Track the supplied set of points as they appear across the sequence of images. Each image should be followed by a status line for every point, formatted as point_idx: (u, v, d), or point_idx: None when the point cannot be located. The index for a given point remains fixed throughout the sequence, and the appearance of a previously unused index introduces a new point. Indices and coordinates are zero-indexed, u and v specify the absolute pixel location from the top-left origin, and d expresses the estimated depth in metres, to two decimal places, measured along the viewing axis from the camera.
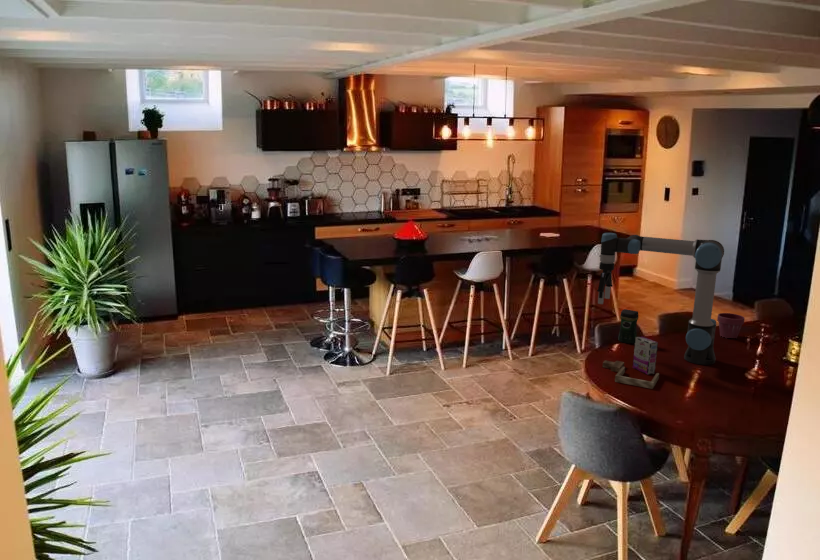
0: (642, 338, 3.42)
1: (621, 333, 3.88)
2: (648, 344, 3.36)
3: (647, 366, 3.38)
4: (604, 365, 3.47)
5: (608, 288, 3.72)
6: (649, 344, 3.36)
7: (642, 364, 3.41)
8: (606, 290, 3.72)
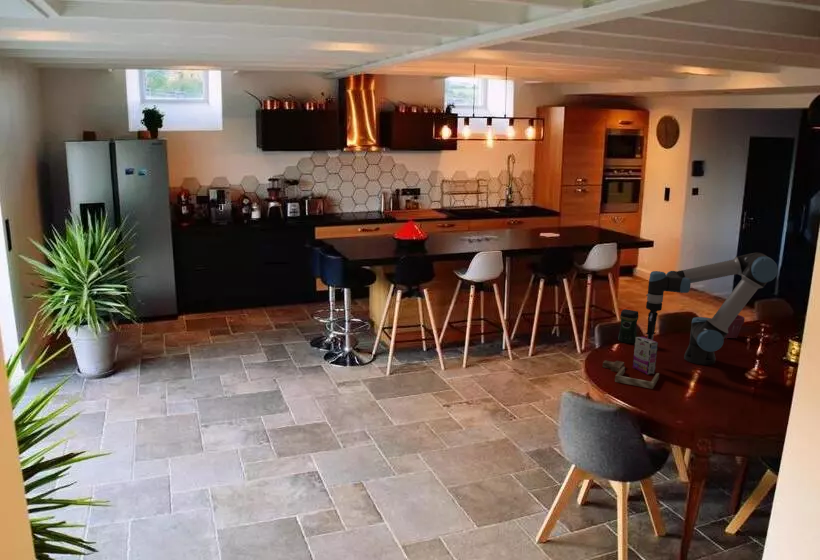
0: (642, 338, 3.42)
1: (621, 333, 3.88)
2: (648, 344, 3.36)
3: (647, 366, 3.38)
4: (604, 365, 3.47)
5: None
6: (649, 344, 3.36)
7: (642, 364, 3.41)
8: None
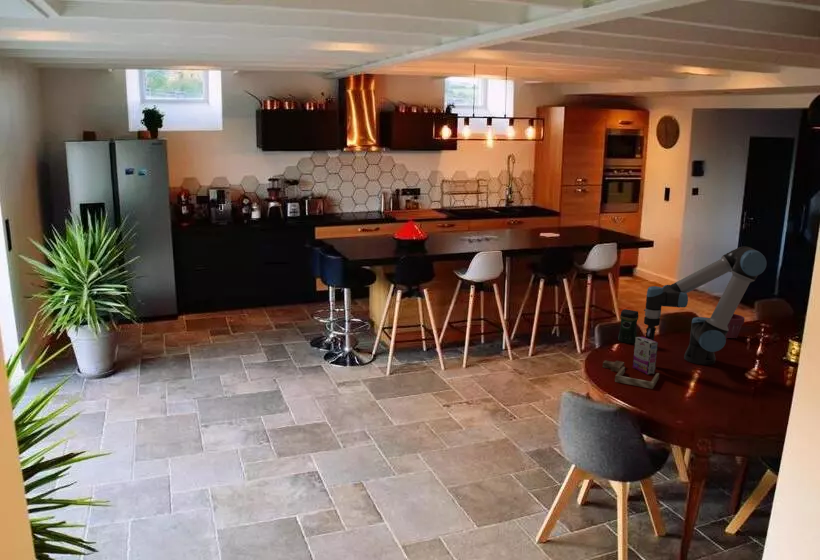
0: (642, 338, 3.42)
1: (621, 333, 3.88)
2: (648, 344, 3.36)
3: (647, 366, 3.38)
4: (604, 365, 3.47)
5: None
6: (649, 344, 3.36)
7: (642, 364, 3.41)
8: None
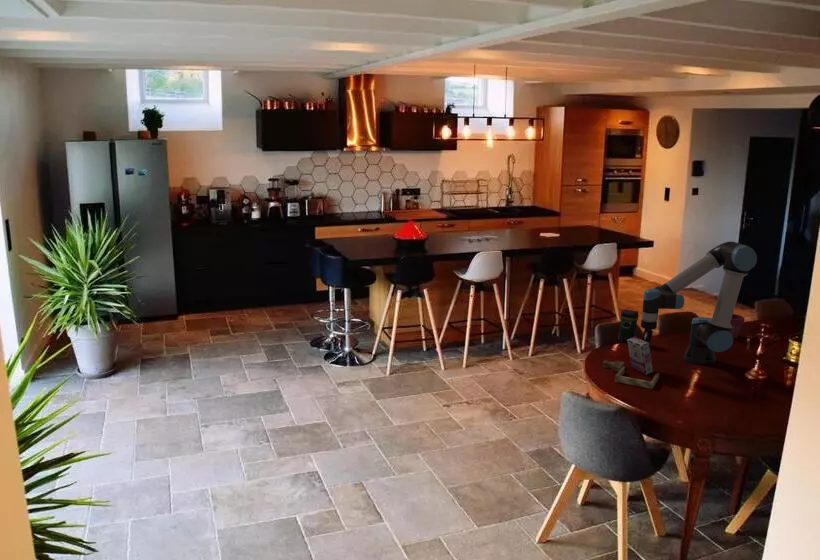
0: (633, 340, 3.40)
1: (621, 333, 3.88)
2: (639, 347, 3.34)
3: (644, 367, 3.36)
4: (604, 365, 3.47)
5: None
6: (640, 347, 3.33)
7: (639, 366, 3.40)
8: None
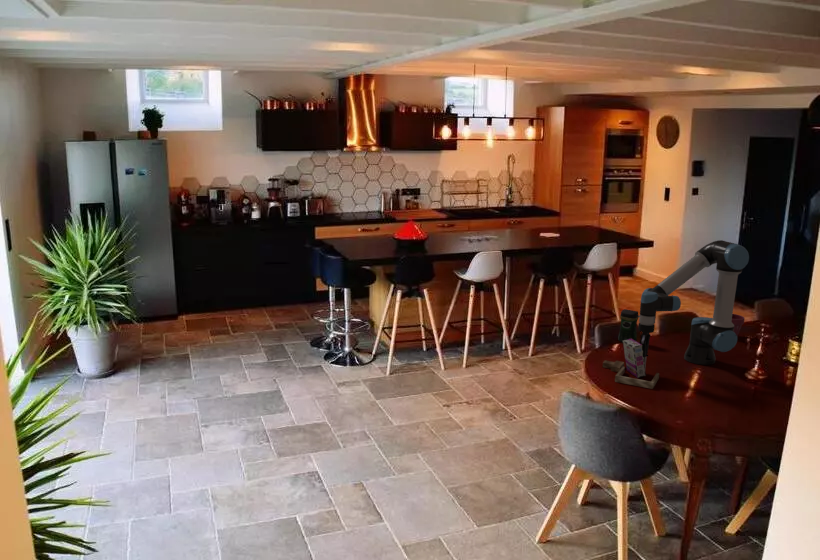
0: (629, 341, 3.37)
1: (621, 333, 3.88)
2: (632, 348, 3.31)
3: (636, 369, 3.33)
4: (604, 365, 3.47)
5: (644, 358, 3.39)
6: (632, 348, 3.30)
7: (632, 368, 3.36)
8: None
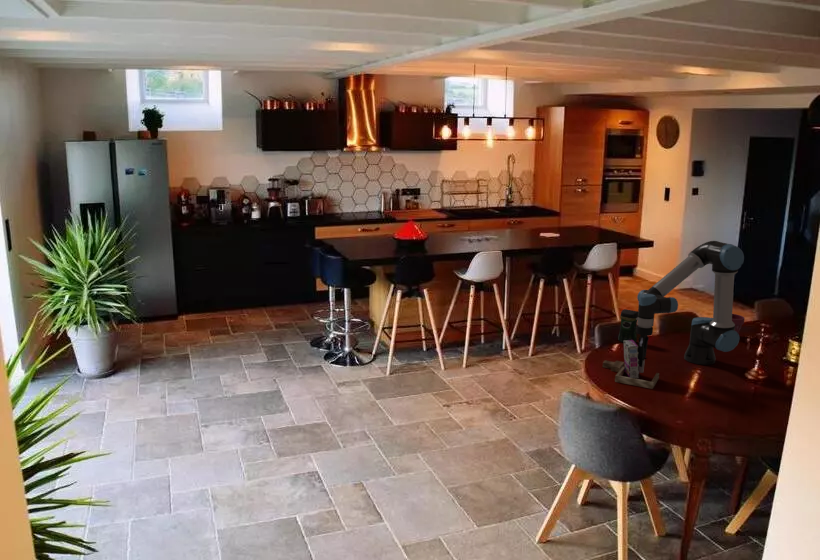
0: (628, 341, 3.36)
1: (621, 333, 3.88)
2: (627, 348, 3.30)
3: (629, 370, 3.31)
4: (604, 365, 3.47)
5: None
6: (628, 348, 3.29)
7: (627, 368, 3.35)
8: None
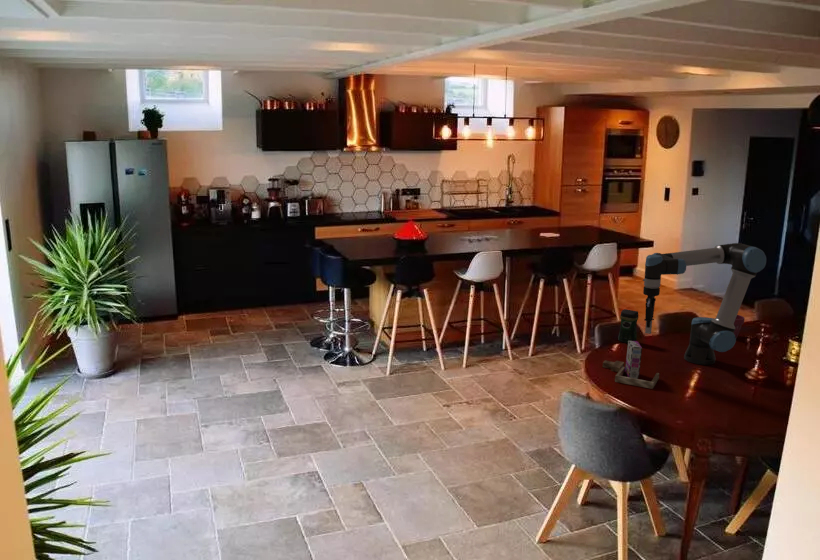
0: (633, 342, 3.36)
1: (621, 333, 3.88)
2: (631, 348, 3.30)
3: (629, 370, 3.31)
4: (604, 365, 3.47)
5: None
6: (631, 348, 3.29)
7: (628, 368, 3.35)
8: None
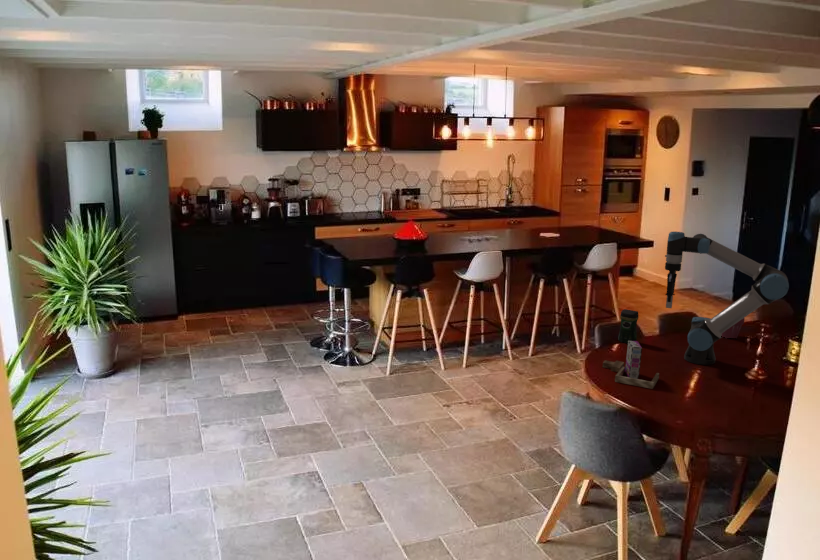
0: (633, 342, 3.36)
1: (621, 333, 3.88)
2: (631, 348, 3.30)
3: (629, 370, 3.31)
4: (604, 365, 3.47)
5: None
6: (631, 348, 3.29)
7: (627, 368, 3.35)
8: None
